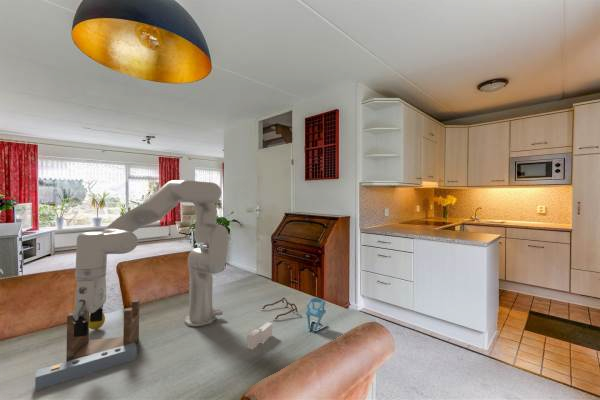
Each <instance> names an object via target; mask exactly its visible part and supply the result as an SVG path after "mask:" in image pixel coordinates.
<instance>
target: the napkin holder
mask: <svg viewBox="0 0 600 400" xmlns="http://www.w3.org/2000/svg"><path fill="white" fill-rule="evenodd" d="M270 336H271V337H273V323H272V322H265V323H264V324H263V325H262V326H260V327H259V328H258V329H253V330H252V331H251V332H249V333H248V334H247V347H246V348H247V349H249V348H251V349H250V350H252V349H253V350H254V349H256V348H257V345H258V344H259V343H262V344H261V345H263V344H265V343H266V342H267V341H268V340H269V339H270V338H271V337H270ZM269 337H270V338H269ZM268 338H269V339H268ZM267 339H268V340H267ZM266 340H267V341H266ZM265 341H266V342H265ZM264 342H265V343H264ZM259 345H260V344H259ZM259 345H258V346H259Z"/></svg>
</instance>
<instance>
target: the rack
mask: <svg viewBox="0 0 600 400" xmlns="http://www.w3.org/2000/svg"><path fill="white" fill-rule="evenodd" d="M83 311H87V310H83ZM89 315H90V314H89ZM89 315H88V318H87V321H88V334H87V335H86V336H80V337H74V321H73V312H70V313H69V314H68V315H66V356H65V357H66V360H65V362H67V361H71V360H74V359H78V358H81V357H85V356H88V355H92V354H95V353H99V352H103V351H106V350H110V349H113V348H117V347H120V346H124V345H127V344H131V343H135V345H136V346H137V343H138V341H139V339H140V299H133V300H132V301H131V306H130V307H128V308H125V309H124V310H123V336H117V337H109V338H108V337H107V338H99V339H98V338H97V339H90V328H89ZM80 316H82V317H83V318H84V316H85V314H84V315H80ZM87 321H86V322H87Z"/></svg>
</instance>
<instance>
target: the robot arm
mask: <svg viewBox="0 0 600 400" xmlns="http://www.w3.org/2000/svg"><path fill="white" fill-rule="evenodd" d="M221 196H222V188H221V187H220V186H219V185H218V184H217V183H215V182H211V181H210V182H208V181H198V180H189V179H188V180H187V179H182V180H181V179H173V180H170V181H167V182H166V183H165V184H163V185H162V186H161V187H160V188H159V189H158V190H156V191H155V192H154V193H153V194H152V195H150V196H149V197H148V198H147V199H146V200H145V201H143V203H141V204H139V205H137V206H136V207H133V208H131V209H130V210H129V211H126V212H125V213H124V214H123V213H122V214H121V215H120V216H119V217H117V218H116V219H115V220H114V221H112V222H111V223H109V225H108V226H106V227H105V228H104V229H103V230H102V231H88V232H86V231H85V232H82V233H79V234H78V235H77V237H76V250H75V253H76V254H75V272H74V273H75V276H74V277H75V278H74V280H76V286H75V292H74V301H73V302H74V304H73V312H72V313H73V321H74V337H80V336H86V335H87V334H88V321H87V318H88V315H90V322H96V321H101V320H102V314H103V313H104V311H103V310H104V308H103V307H104V305H105V304H106V302H107V278H106V276H107V265H108V262H107V261H108V260H107V259H108V255H124V254H129V253H131V252H132V251H134V250H135V249H136V248H137V246H138V243H139V240H138V237H137V235H136V234H135V233H134V232H135V231H136V230H138V229H140V228H142V227H144V226H148V225H151V224H154V223H157V222H159V221H161V220H163V219H164V217H166V215H168V214H169V213H170V212H171V211H172V210H173V209H174V208H175V207H176V206H177V205H178V204H179V203H193V205H194V207H195V211H196V216H195V217H196V219H195V225H194V234H193V235H194V236H193V237H194V241H195V242H196V243H197V244H199V245H202V246H203V245H204V246H206V247H196V248H193V249H192V250H191V251H190V252H189V253H188V256H187V267H188V273H189V293H188V294H189V297H188V300H189V301H188V303H189V304H188V315H187V316H186V317H185V318H184V323H185V324H186V325H187V326H189V327H202V326H203V327H204V326H207V325H209V324H212V323H214V322H215V321H216V318H217V317H216V316H223V309H222V310H221V309H220V308H216V309H215V308H214V306H213V292H214V291H213V283H214V279H213V274H220V273H221V272H222V271H223V270H224V269H225V266H226V263H227V259H228V258H227V257H228V249H229V241H230V234H229V231H228V229H227V227H225V226H224V225H222V224H217V217H218V213H217V212H218V210H217V207H216V204H215V203H216V202H217V201H219V200H220V199H221ZM207 246H208V248H207ZM83 310H87V311H83ZM84 314H85V316H84V318H83V317H82V316H80V315H84ZM86 321H87V322H86Z"/></svg>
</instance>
